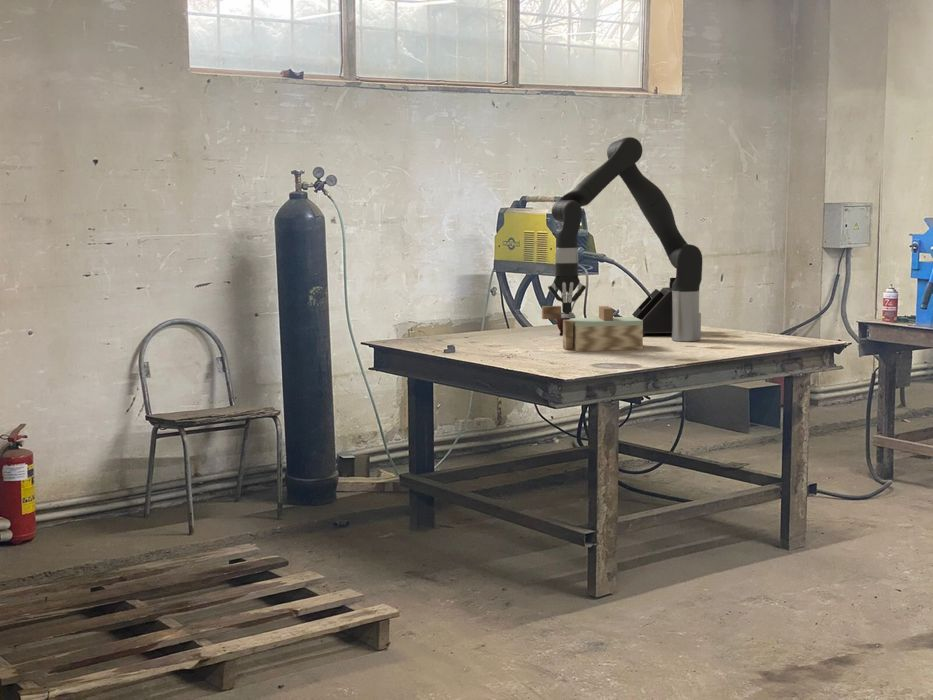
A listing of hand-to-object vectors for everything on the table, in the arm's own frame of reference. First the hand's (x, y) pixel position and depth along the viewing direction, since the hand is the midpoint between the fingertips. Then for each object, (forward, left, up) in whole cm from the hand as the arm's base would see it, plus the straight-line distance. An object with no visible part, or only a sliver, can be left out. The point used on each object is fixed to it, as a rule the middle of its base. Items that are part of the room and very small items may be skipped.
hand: (566, 313), depth 374 cm
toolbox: (-12, 0, -12) cm, 17 cm away
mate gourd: (-7, -38, -12) cm, 40 cm away
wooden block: (+5, 0, -1) cm, 5 cm away
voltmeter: (-39, -34, -12) cm, 53 cm away
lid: (-13, 0, -4) cm, 14 cm away
